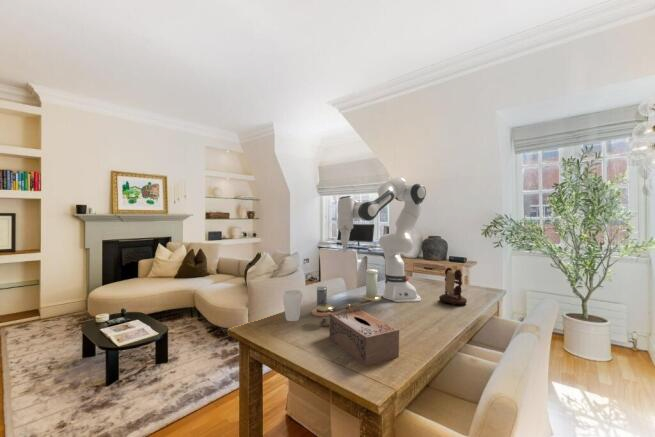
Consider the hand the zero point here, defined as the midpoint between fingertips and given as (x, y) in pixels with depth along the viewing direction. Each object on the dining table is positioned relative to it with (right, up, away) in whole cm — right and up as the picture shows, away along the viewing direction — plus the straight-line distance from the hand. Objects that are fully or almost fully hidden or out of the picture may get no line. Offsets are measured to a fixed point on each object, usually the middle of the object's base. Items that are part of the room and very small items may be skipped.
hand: (345, 250), depth 157 cm
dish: (-13, -31, -10) cm, 35 cm away
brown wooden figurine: (+64, -32, +11) cm, 72 cm away
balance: (0, -32, -26) cm, 41 cm away
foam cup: (-27, -31, -19) cm, 45 cm away
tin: (-13, -30, -11) cm, 34 cm away
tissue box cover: (+4, -32, -46) cm, 57 cm away
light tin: (+11, -18, -27) cm, 34 cm away
